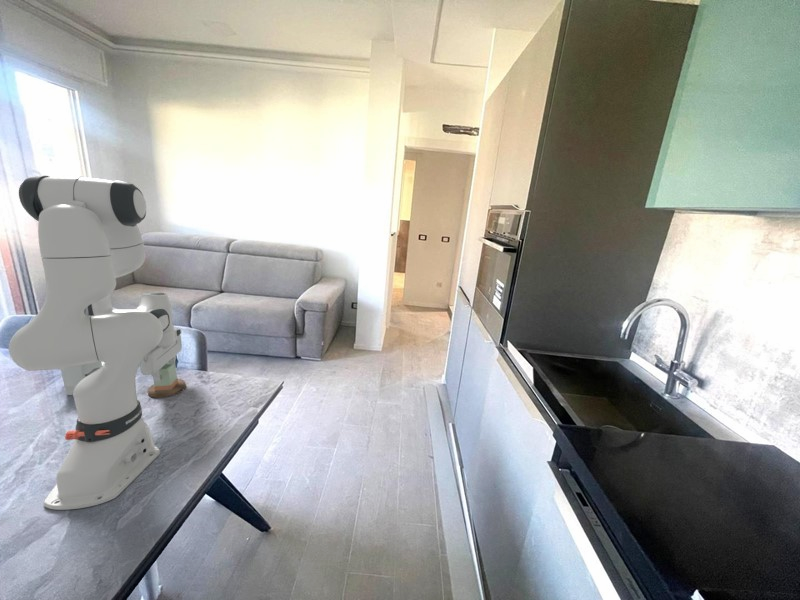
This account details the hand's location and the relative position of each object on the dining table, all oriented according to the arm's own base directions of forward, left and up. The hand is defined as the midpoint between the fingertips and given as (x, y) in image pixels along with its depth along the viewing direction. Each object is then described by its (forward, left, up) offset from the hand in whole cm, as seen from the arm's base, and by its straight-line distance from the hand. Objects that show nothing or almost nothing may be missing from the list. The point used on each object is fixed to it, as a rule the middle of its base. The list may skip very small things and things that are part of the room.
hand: (165, 373), depth 113 cm
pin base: (0, 0, -6) cm, 6 cm away
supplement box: (+2, +26, -7) cm, 27 cm away
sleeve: (0, 0, -5) cm, 5 cm away
